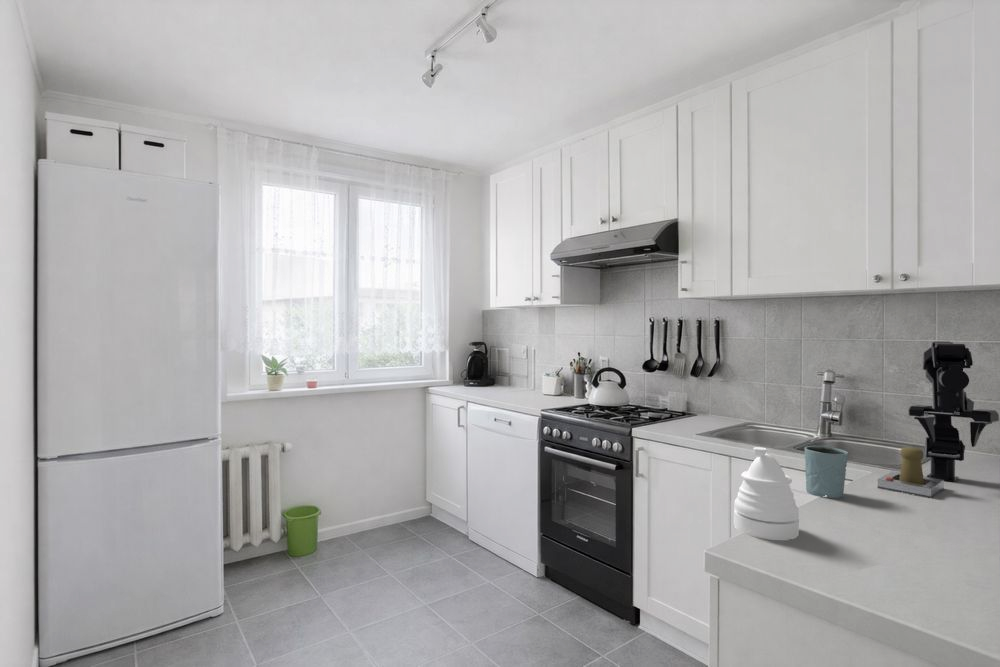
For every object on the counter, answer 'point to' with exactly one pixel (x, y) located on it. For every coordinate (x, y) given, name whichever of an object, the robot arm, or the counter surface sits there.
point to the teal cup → (825, 471)
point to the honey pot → (766, 501)
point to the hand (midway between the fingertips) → (952, 444)
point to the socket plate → (911, 485)
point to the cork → (911, 465)
